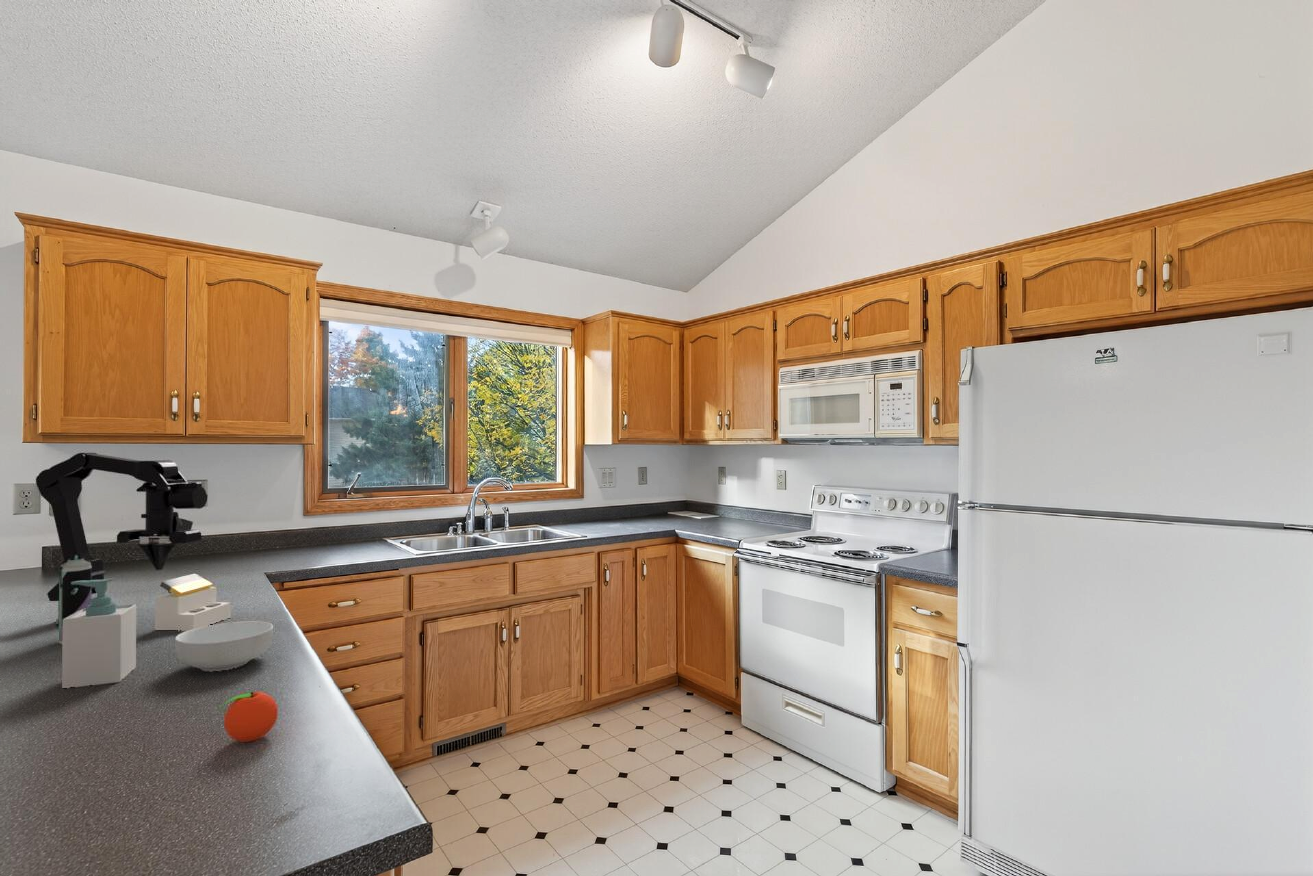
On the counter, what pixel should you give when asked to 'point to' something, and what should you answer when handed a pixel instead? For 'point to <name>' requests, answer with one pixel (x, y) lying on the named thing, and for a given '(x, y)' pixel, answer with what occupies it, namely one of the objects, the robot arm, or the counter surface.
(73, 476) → the robot arm
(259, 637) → the cereal bowl
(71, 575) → the spray can
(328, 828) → the counter surface
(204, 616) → the stepped slotted block
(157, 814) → the counter surface
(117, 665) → the soap bottle
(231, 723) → the clementine
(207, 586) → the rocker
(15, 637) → the counter surface
